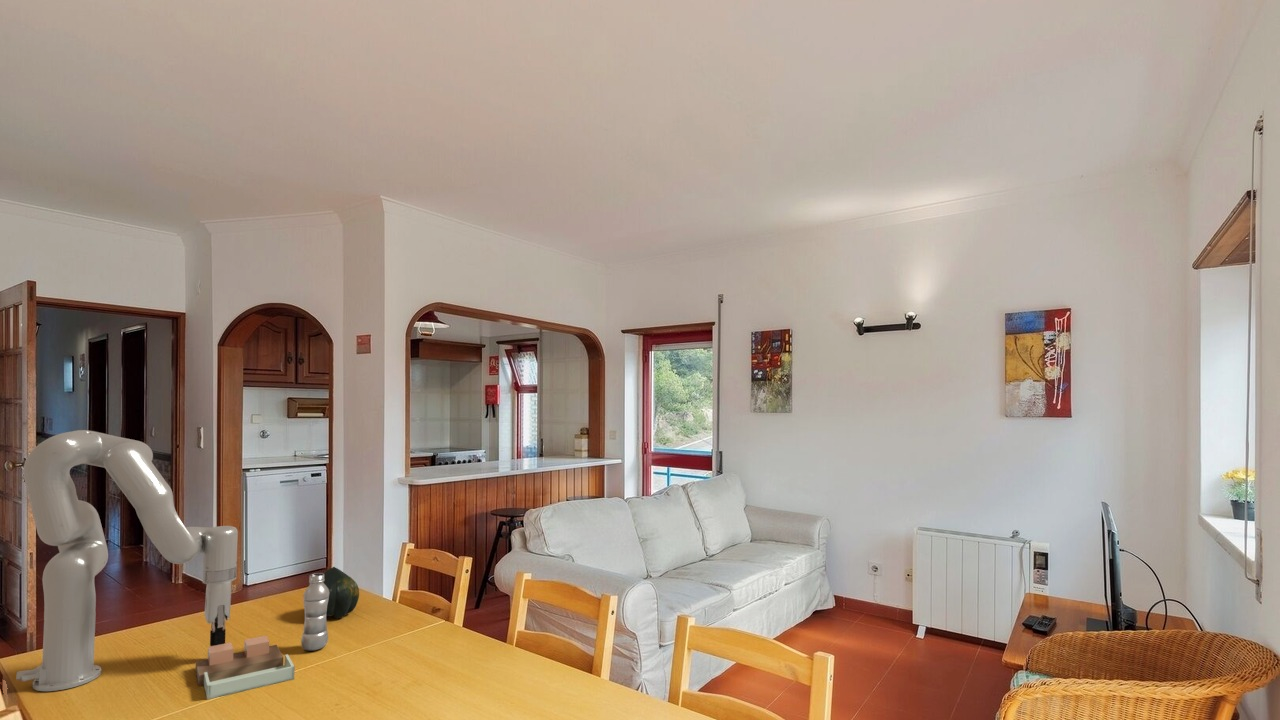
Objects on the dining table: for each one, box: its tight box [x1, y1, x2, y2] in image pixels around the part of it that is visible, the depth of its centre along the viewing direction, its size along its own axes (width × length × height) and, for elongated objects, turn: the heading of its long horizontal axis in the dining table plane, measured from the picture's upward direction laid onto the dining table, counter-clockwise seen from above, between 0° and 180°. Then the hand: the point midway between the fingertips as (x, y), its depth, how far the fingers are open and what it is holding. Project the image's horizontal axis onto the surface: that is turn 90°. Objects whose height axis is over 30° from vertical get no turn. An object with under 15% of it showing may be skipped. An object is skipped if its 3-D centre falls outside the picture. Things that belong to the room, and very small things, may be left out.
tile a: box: [207, 642, 234, 666], centre depth 167 cm, size 5×5×3 cm
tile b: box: [243, 635, 270, 658], centre depth 172 cm, size 5×5×3 cm
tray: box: [203, 653, 296, 700], centre depth 161 cm, size 18×9×3 cm, turn 128°
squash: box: [323, 566, 360, 619], centre depth 207 cm, size 14×15×15 cm
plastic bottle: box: [300, 572, 330, 652], centre depth 181 cm, size 6×7×20 cm
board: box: [195, 644, 284, 687], centre depth 167 cm, size 18×10×2 cm, turn 128°
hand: (217, 645), depth 173 cm, fingers closed
